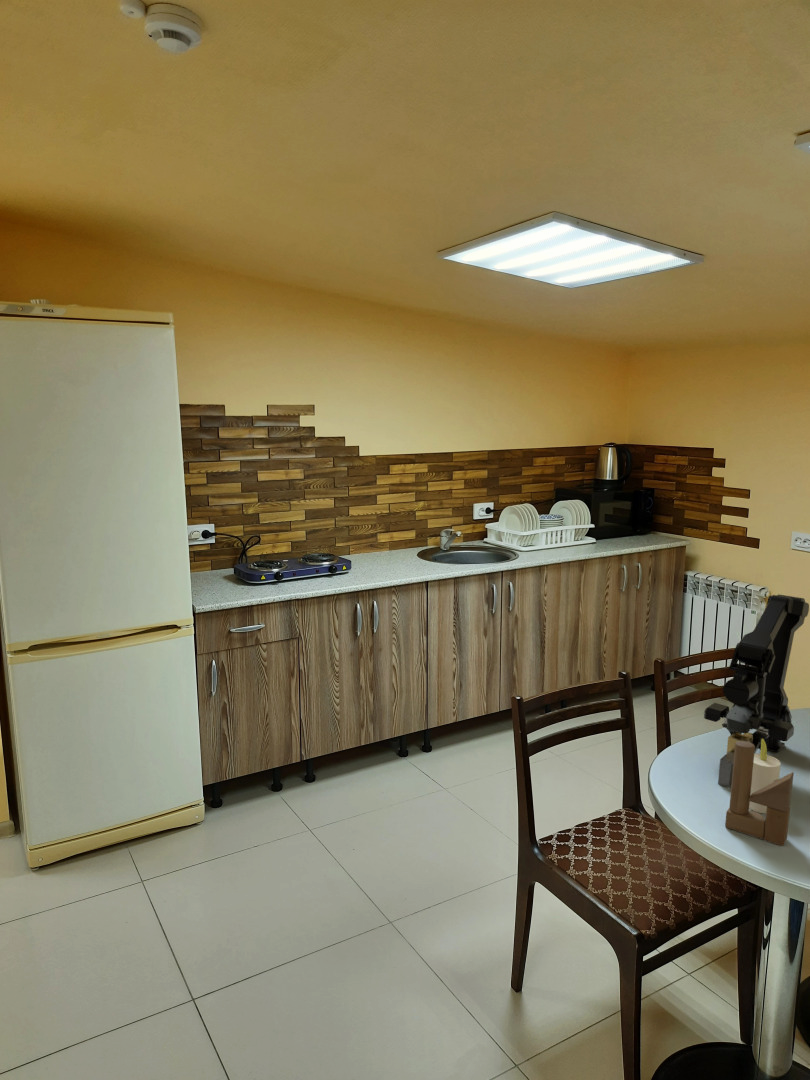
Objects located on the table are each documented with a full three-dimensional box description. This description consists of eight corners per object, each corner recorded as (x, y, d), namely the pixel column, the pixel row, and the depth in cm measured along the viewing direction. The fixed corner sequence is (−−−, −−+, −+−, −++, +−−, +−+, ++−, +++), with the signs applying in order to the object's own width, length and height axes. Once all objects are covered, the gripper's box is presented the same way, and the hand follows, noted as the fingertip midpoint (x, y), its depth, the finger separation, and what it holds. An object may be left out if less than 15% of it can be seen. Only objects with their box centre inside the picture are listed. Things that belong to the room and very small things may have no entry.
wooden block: (783, 847, 139) (792, 759, 136) (724, 827, 146) (732, 744, 143) (787, 839, 142) (796, 753, 139) (729, 820, 148) (736, 738, 146)
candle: (765, 816, 150) (772, 749, 148) (737, 802, 156) (743, 737, 153) (783, 809, 153) (789, 743, 151) (754, 795, 159) (761, 731, 156)
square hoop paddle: (740, 753, 176) (743, 724, 175) (757, 759, 173) (760, 729, 172) (725, 767, 169) (728, 737, 168) (743, 773, 166) (746, 742, 165)
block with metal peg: (731, 767, 172) (733, 738, 171) (748, 773, 169) (751, 743, 168) (714, 782, 164) (717, 751, 163) (732, 788, 162) (735, 757, 161)
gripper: (697, 691, 170) (692, 753, 173) (782, 713, 157) (775, 779, 160) (715, 679, 178) (710, 739, 181) (797, 700, 165) (791, 763, 168)
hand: (744, 755), depth 172 cm, fingers closed on square hoop paddle, 3 cm apart
